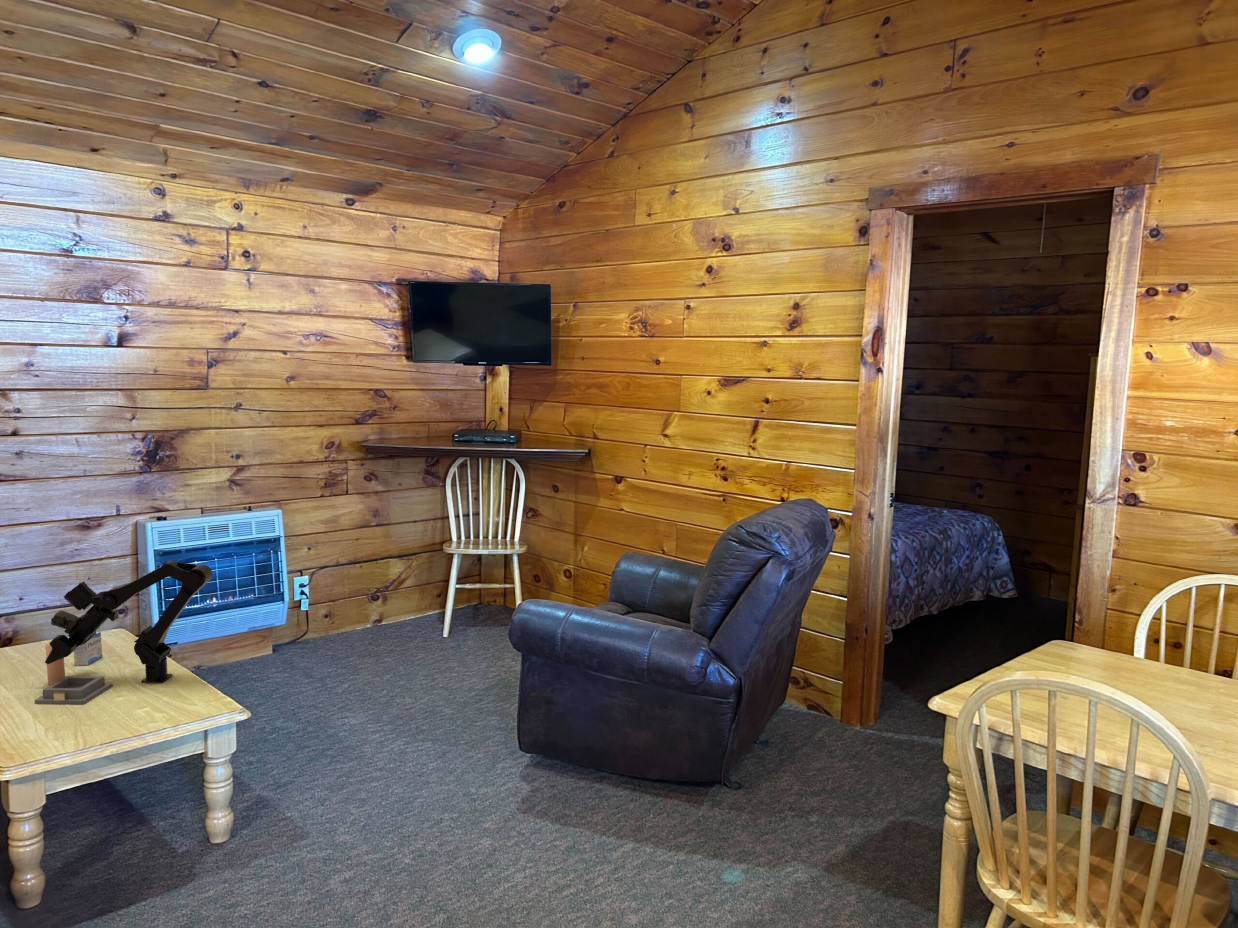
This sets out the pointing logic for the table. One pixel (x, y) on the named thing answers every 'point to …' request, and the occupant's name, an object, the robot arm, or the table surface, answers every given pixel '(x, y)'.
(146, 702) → the table surface
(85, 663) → the medicine box
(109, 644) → the table surface
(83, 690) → the gray square tray
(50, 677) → the terracotta peg
